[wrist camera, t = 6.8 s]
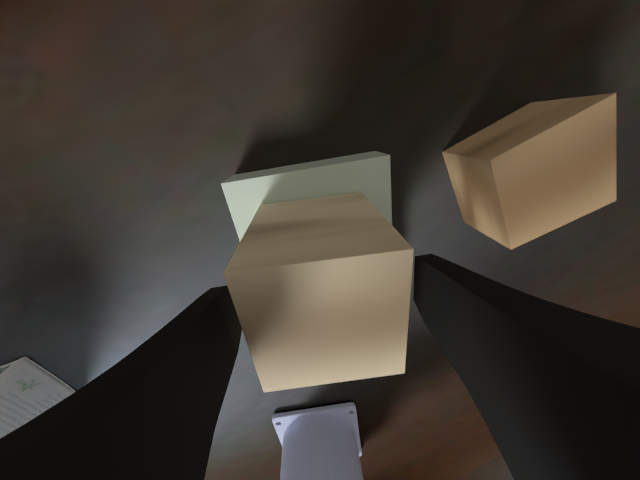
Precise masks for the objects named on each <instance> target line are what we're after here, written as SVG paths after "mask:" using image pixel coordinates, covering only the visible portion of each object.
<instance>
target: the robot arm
mask: <svg viewBox="0 0 640 480" xmlns="http://www.w3.org/2000/svg"><path fill="white" fill-rule="evenodd" d="M413 299H414V302H415V304H416V306H417V308H418V310H419V312H420V314H421V316H422V318H423V320H424V322H425V324H426V326H427V327H428V329H429V330H430V332H431V333H432V335H433V337H434V338H435V340H436V341H437V343H438V344H439V346H440V347H441V349H442V350H443V352H444V353H445V355H446V357H447V358H448V360H449V361H450V363H451V364H452V366H453V367H454V369H455V370H456V372H457V373H458V375H459V376H460V378H461V380H462V381H463V383H464V385H465V386H466V388H467V390H468V391H469V393H470V395H471V396H472V398H473V400H474V402H475V404H476V406H477V408H478V410H479V411H480V413H481V415H482V417H483V419H484V421H485V423H486V425H487V426H488V428H489V430H490V432H491V434H492V436H493V438H494V440H495V442H496V444H497V446H498V448H499V450H500V452H501V454H502V456H503V458H504V460H505V462H506V464H507V466H508V468H509V470H510V472H511V474H512V476H513V478H514V480H640V328H636V327H633V326H629V325H625V324H622V323H618V322H614V321H611V320H607V319H603V318H600V317H597V316H593V315H590V314H586V313H583V312H580V311H576V310H573V309H570V308H567V307H564V306H561V305H558V304H555V303H552V302H549V301H546V300H543V299H540V298H537V297H534V296H532V295H529V294H526V293H524V292H521V291H519V290H516V289H513V288H511V287H508V286H506V285H503V284H501V283H498V282H496V281H493V280H491V279H489V278H486V277H484V276H482V275H479V274H477V273H475V272H472V271H470V270H468V269H466V268H463V267H461V266H459V265H457V264H454V263H452V262H450V261H448V260H445V259H443V258H441V257H438V256H435V255H433V254H427V255H421V256H415V268H414V298H413ZM241 331H242V327H241V324H240V321H239V318H238V315H237V312H236V309H235V306H234V303H233V301H232V298H231V295H230V292H229V289H228V287H227V286H221V287H215V288H211V289H209V290H208V291H206V292H205V293H204V294H203V295H201V296H200V297H199V298H198V299H196V300H195V301H194V302H193V303H192V304H190V305H189V306H188V307H187V308H186V309H185V310H183V311H182V312H181V313H180V314H179V315H177V316H176V317H175V318H174V319H173V320H171V321H170V322H169V323H168V324H167V325H165V326H164V327H163V328H162V329H161V330H159V331H158V332H157V333H156V334H154V335H153V336H152V337H150V338H149V339H148V340H147V341H145V342H144V343H143V344H142V345H140V346H139V347H138V348H137V349H135V350H134V351H133V352H131V353H130V354H129V355H127V356H126V357H125V358H123V359H122V360H121V361H119V362H118V363H117V364H115V365H114V366H113V367H111V368H110V369H108V370H107V371H105V372H104V373H103V374H101V375H100V376H98V377H97V378H95V379H94V380H92V381H91V382H90V383H88V384H87V385H85V386H84V387H82V388H81V389H79V390H78V391H76V392H74V393H73V394H71V395H70V396H68V397H67V398H65V399H63V400H62V401H60V402H59V403H57V404H56V405H54V406H52V407H51V408H49V409H48V410H46V411H45V412H43V413H41V414H40V415H38V416H37V417H35V418H34V419H32V420H30V421H29V422H27V423H26V424H24V425H22V426H21V427H19V428H17V429H16V430H14V431H12V432H10V433H9V434H7V435H5V436H4V437H2V438H0V480H204V478H205V472H206V467H207V463H208V458H209V453H210V449H211V444H212V439H213V435H214V431H215V427H216V423H217V419H218V416H219V413H220V409H221V406H222V403H223V400H224V396H225V393H226V390H227V387H228V383H229V380H230V377H231V374H232V370H233V367H234V363H235V360H236V357H237V353H238V349H239V343H240V337H241ZM272 422H273V425H274V427H275V430H276V432H277V435H278V437H279V440H280V442H281V445H282V460H281V476H280V480H363V475H362V469H361V464H360V458H359V457H360V456H361V455H362V451H361V443H360V436H359V428H358V420H357V412H356V406H355V404H354V403H353V402H348V403H342V404H335V405H329V406H322V407H316V408H309V409H303V410H296V411H290V412H283V413H277V414H274V415H273V416H272Z"/></svg>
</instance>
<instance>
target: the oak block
mask: <svg viewBox="0 0 640 480" xmlns="http://www.w3.org/2000/svg"><path fill="white" fill-rule="evenodd" d="M442 153H443V157H444V160H445V163H446V166H447V169H448V172H449V176H450V179H451V182H452V185H453V188H454V191H455V195H456V198H457V201H458V204H459V207H460V210H461V213H462V217H463V220H464V223H466V224H468V225H469V226H471V227H473V228H475V229H476V230H478V231H480V232H481V233H483V234H485V235H487V236H488V237H490V238H492V239H493V240H495V241H497V242H499V243H500V244H502V245H504V246H505V247H507V248H509V249H510V250H512V249H514V248H516V247H518V246H520V245H522V244H525V243H527V242H529V241H531V240H533V239H535V238H537V237H540V236H542V235H544V234H546V233H548V232H550V231H552V230H555V229H557V228H559V227H561V226H563V225H565V224H567V223H569V222H572V221H574V220H576V219H578V218H580V217H582V216H584V215H587V214H589V213H591V212H593V211H595V210H597V209H599V208H602V207H604V206H606V205H608V204H610V203H612V202H614V201H616V93H610V94H601V95H592V96H583V97H575V98H566V99H557V100H548V101H539V102H531V103H529V104H527V105H525V106H524V107H522V108H520V109H518V110H516V111H515V112H513V113H511V114H509V115H507V116H506V117H504V118H502V119H500V120H499V121H497V122H495V123H493V124H491V125H490V126H488V127H486V128H484V129H482V130H481V131H479V132H477V133H475V134H473V135H472V136H470V137H468V138H466V139H465V140H463V141H461V142H459V143H457V144H456V145H454V146H452V147H450V148H448V149H447V150H445V151H443V152H442Z"/></svg>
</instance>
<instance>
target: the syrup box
mask: <svg viewBox="0 0 640 480" xmlns="http://www.w3.org/2000/svg"><path fill="white" fill-rule="evenodd" d="M74 392H76V391H75V390H74V389H72V388H71V387H70V386H69V385H67V384H66V383H64V382H63V381H62V380H60V379H59V378H58V377H56V376H54V375H53V374H52V373H50V372H49V371H47V370H46V369H44V368H42V367H41V366H40V365H38V364H36V363H35V362H33V361H32V360H30V359H29V358H27V357H22V358H20V359H18V360H16V361H13V362H10V363H8V364H5V365H2V366H0V438H2V437H4V436H5V435H7V434H9V433H10V432H12V431H14V430H16V429H17V428H19V427H21V426H22V425H24V424H26V423H27V422H29V421H30V420H32V419H34V418H35V417H37V416H38V415H40V414H41V413H43V412H45V411H46V410H48V409H49V408H51V407H52V406H54V405H56V404H57V403H59V402H60V401H62V400H63V399H65V398H67V397H68V396H70V395H71V394H73V393H74Z"/></svg>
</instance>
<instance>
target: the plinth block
mask: <svg viewBox="0 0 640 480" xmlns="http://www.w3.org/2000/svg"><path fill="white" fill-rule="evenodd" d="M221 186H222V189H223V192H224V195H225V198H226V201H227V204H228V207H229V210H230V213H231V216H232V219H233V222H234V225H235V228H236V231H237V234H238V237H239V240H240V241H241V239H242V238H243V236H244V234H245V232H246V230H247V228H248V226H249V225H250V223H251V221H252V219H253V217H254V215H255V213H256V212H257V210H258V208H259V206H260V205H263V204H271V203H279V202H287V201H295V200H303V199H311V198H319V197H327V196H335V195H343V194H351V193H359V192H362V193H363V194H364V195H365V196H366V197H367V198H368V199H369V200H370V202H371V203H372V204H373V205H374V206H375V207H376V208H377V209H378V210H379V211H380V213H381V214H382V215H383V216H384V217H385V218H386V219H387V220H388V221H389V222H390V224H391V225H392V205H391V168H390V155H388V154H385V153H381V152H378V151H372V152H366V153H360V154H354V155H348V156H342V157H336V158H330V159H324V160H318V161H312V162H306V163H300V164H295V165H289V166H283V167H277V168H271V169H265V170H259V171H253V172H247V173H241V174H235V175H233V176H232V177H230V178H229V179H227V180H226V181H224V182H223V183H221Z"/></svg>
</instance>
